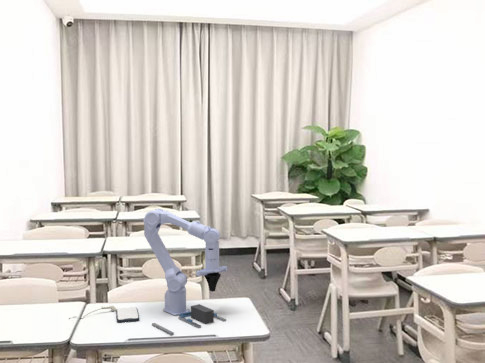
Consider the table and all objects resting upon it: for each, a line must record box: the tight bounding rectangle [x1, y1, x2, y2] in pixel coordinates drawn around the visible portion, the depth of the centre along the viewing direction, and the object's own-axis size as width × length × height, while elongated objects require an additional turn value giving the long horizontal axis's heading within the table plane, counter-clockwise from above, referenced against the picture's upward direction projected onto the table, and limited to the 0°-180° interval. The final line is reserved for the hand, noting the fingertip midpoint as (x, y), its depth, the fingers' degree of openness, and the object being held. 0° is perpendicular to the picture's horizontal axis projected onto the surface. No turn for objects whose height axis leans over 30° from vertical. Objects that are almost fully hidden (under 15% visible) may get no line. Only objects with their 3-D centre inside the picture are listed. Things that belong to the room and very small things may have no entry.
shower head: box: [82, 305, 118, 318], centre depth 204 cm, size 5×3×20 cm
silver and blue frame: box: [151, 310, 227, 337], centre depth 194 cm, size 15×25×2 cm, turn 130°
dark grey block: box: [190, 303, 215, 325], centre depth 198 cm, size 10×4×5 cm, turn 40°
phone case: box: [115, 307, 140, 324], centre depth 203 cm, size 9×2×16 cm
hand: (212, 290), depth 205 cm, fingers closed
